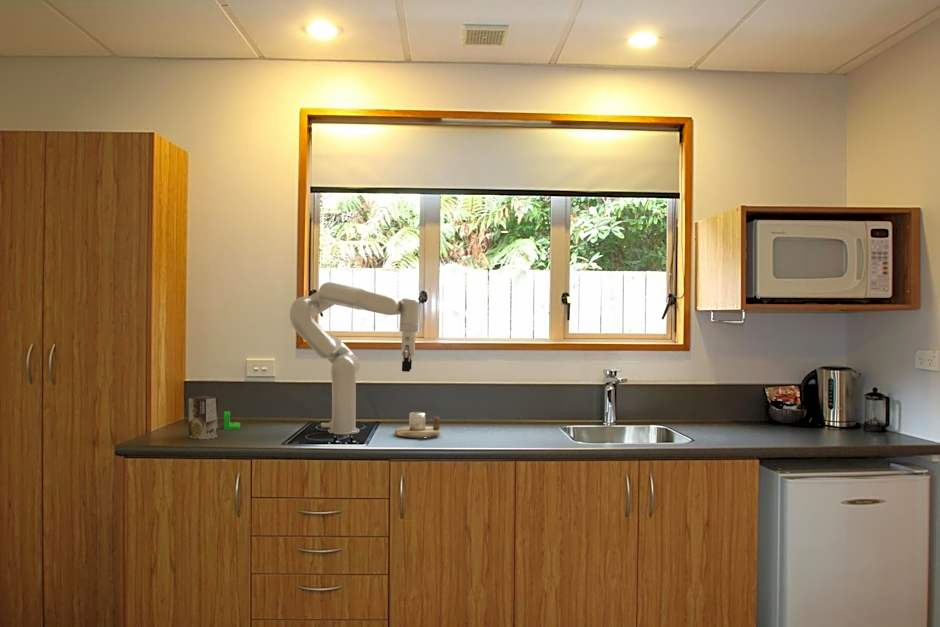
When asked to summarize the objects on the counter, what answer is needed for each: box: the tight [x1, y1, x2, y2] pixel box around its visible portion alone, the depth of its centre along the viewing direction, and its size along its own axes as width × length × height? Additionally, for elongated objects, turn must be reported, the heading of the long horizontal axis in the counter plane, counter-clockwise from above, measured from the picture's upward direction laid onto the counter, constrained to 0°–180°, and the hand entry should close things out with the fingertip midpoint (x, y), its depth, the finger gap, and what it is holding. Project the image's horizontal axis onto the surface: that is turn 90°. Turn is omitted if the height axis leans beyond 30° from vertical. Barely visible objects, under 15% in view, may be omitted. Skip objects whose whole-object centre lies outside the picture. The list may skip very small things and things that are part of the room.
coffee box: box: [188, 395, 219, 440], centre depth 274 cm, size 9×6×16 cm
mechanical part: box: [223, 411, 241, 431], centre depth 299 cm, size 12×6×8 cm, turn 15°
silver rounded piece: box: [408, 411, 426, 431], centre depth 284 cm, size 6×6×7 cm
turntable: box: [394, 416, 441, 438], centre depth 285 cm, size 18×18×6 cm
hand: (406, 370), depth 290 cm, fingers open, 9 cm apart
